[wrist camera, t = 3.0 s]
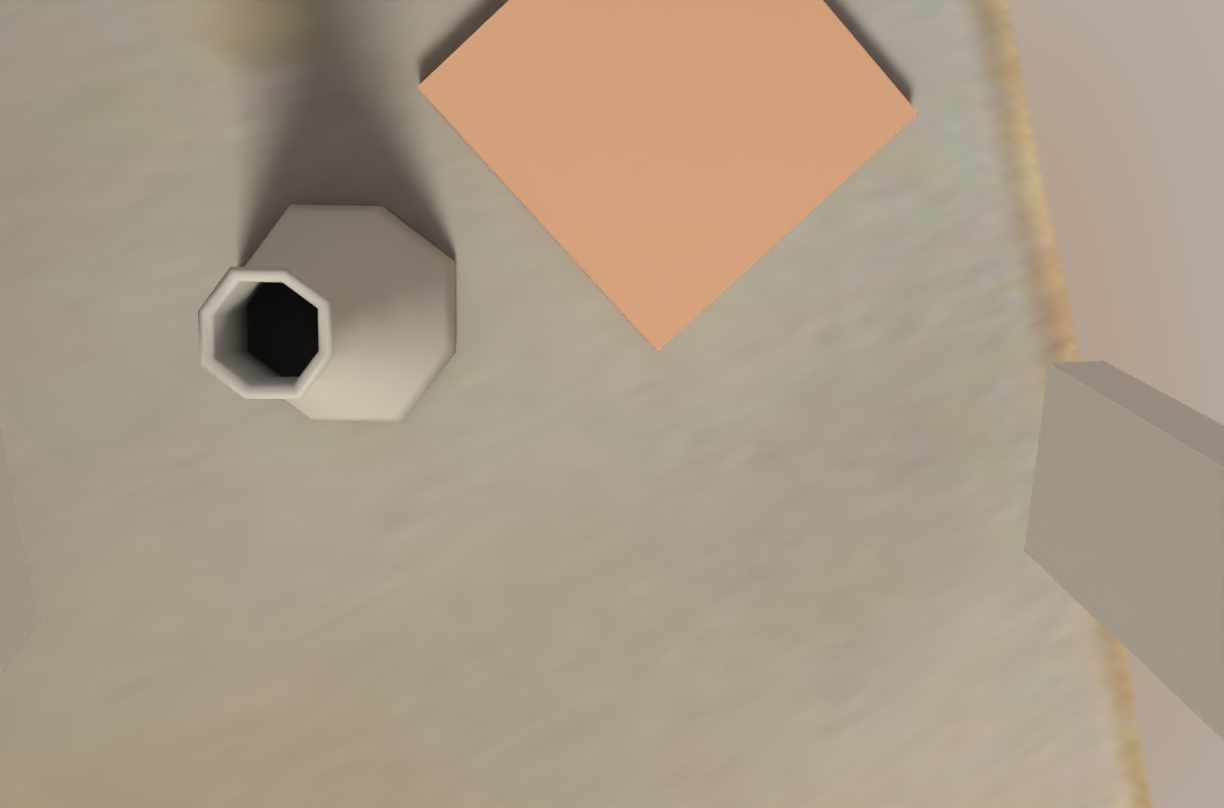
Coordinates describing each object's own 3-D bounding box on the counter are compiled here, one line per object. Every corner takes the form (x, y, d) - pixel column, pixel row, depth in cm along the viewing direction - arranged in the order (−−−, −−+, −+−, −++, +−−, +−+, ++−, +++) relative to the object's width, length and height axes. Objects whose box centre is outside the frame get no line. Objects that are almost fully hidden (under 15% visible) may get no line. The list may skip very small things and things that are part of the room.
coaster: (420, 91, 35) (417, 86, 34) (680, -156, 34) (683, -166, 33) (655, 349, 36) (657, 351, 35) (910, 116, 35) (918, 113, 35)
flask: (421, 455, 36) (367, 528, 26) (206, 383, 36) (66, 429, 26) (492, 244, 35) (463, 236, 25) (273, 167, 35) (157, 128, 25)
